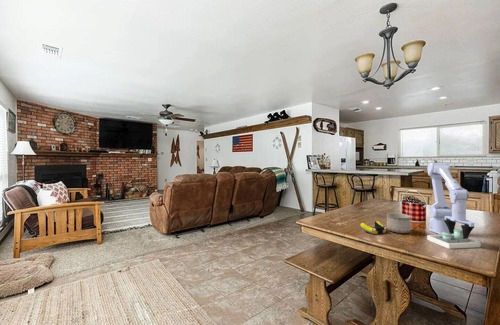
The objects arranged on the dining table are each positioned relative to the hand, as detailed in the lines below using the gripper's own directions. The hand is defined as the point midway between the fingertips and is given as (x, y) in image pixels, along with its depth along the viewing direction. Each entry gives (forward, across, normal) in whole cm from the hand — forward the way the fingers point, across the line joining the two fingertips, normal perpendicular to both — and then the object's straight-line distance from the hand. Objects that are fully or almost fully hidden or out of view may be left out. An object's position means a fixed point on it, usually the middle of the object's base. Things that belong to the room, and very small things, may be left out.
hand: (458, 235), depth 124 cm
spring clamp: (+4, -23, -34) cm, 41 cm away
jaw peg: (+3, 0, 0) cm, 3 cm away
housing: (+4, 0, -4) cm, 5 cm away
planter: (+4, -22, -18) cm, 29 cm away
